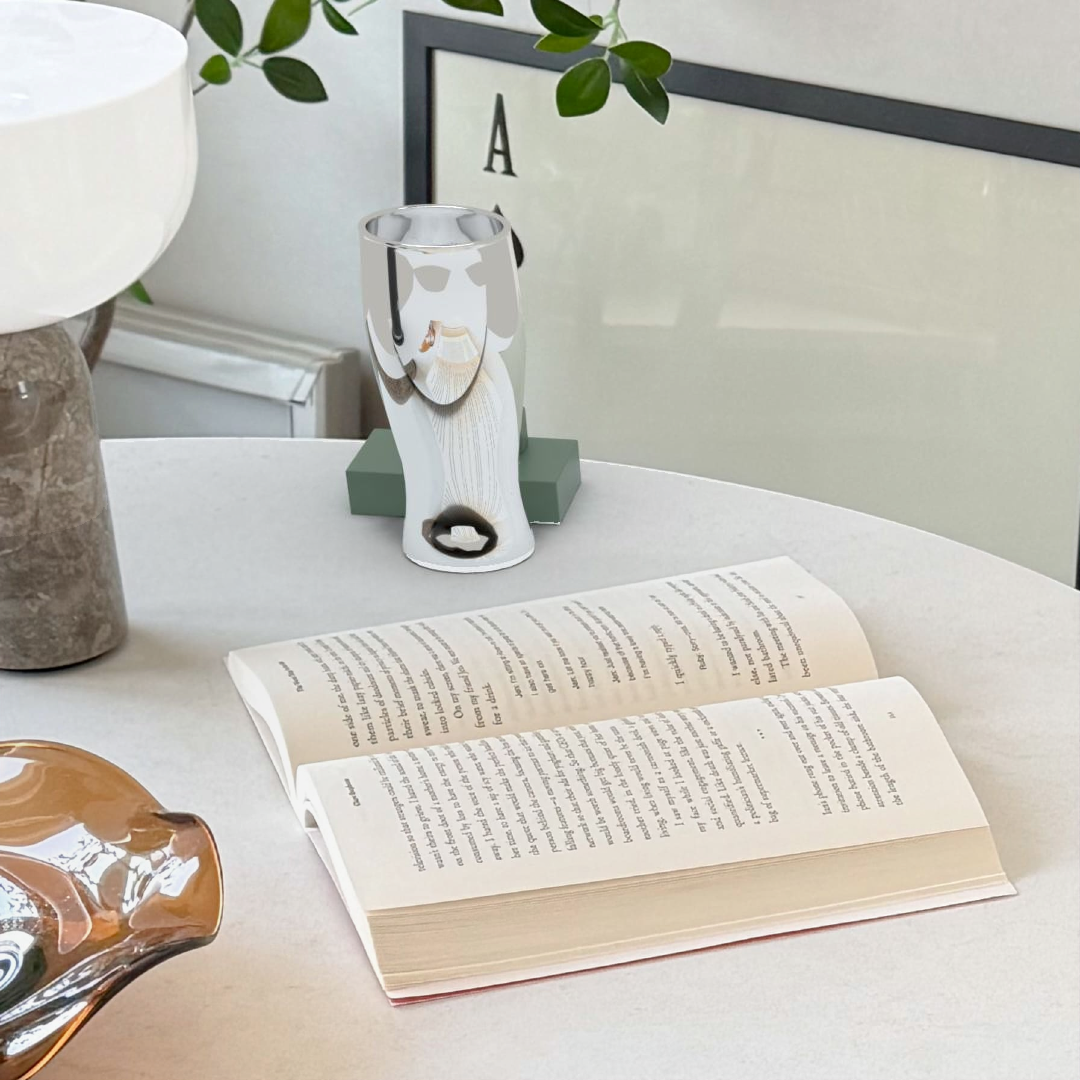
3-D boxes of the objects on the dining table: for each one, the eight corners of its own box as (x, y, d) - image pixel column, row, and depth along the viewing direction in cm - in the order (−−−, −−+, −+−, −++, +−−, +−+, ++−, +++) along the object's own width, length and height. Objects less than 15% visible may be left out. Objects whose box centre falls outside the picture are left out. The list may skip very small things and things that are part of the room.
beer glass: (409, 585, 128) (368, 251, 119) (380, 530, 133) (339, 206, 124) (560, 569, 131) (531, 242, 122) (526, 516, 136) (496, 198, 127)
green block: (350, 514, 134) (339, 433, 132) (384, 463, 140) (374, 384, 138) (560, 526, 135) (553, 445, 133) (585, 474, 141) (578, 396, 138)
